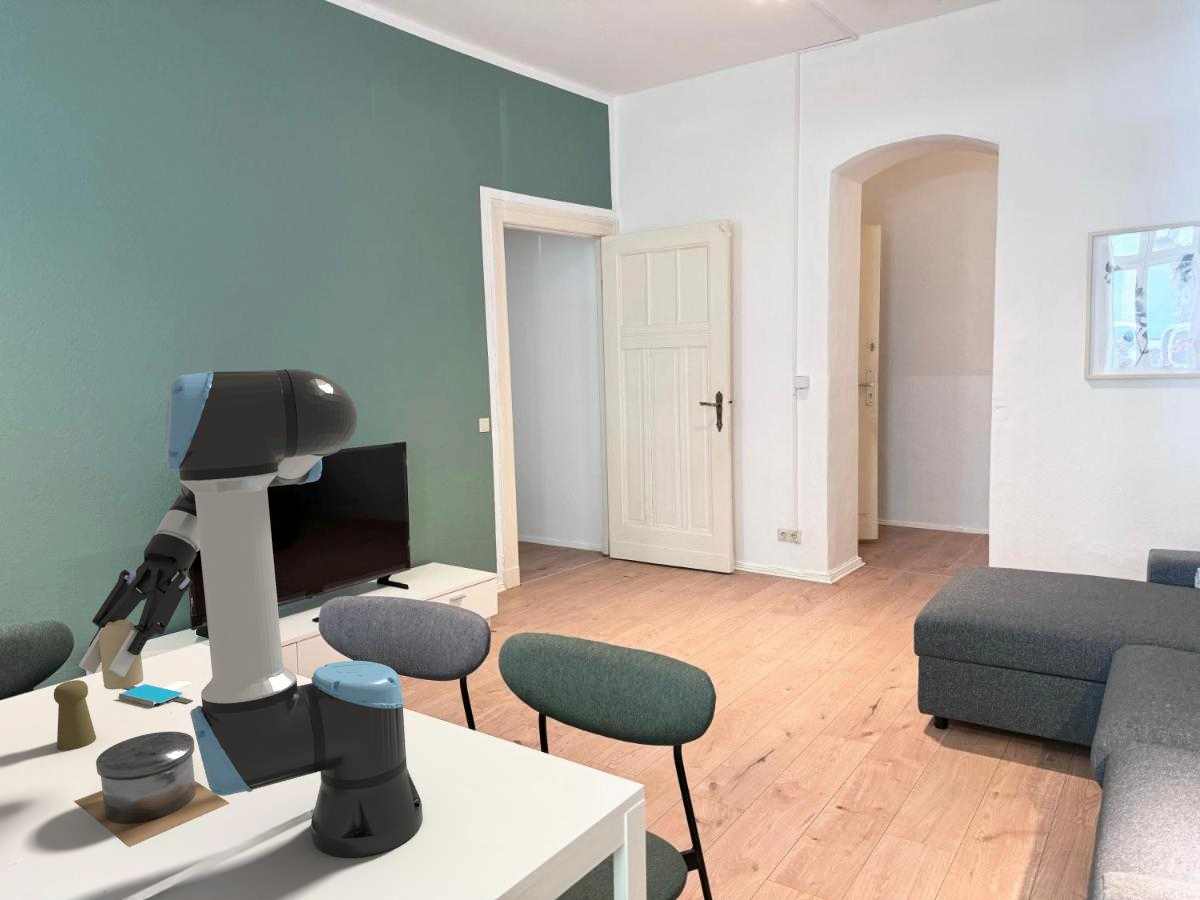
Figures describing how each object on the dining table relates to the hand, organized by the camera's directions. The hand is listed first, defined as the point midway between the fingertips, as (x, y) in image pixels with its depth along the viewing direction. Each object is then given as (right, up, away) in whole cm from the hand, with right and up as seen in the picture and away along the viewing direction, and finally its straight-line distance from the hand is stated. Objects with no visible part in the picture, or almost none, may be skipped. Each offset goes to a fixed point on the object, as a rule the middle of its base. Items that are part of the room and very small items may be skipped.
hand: (101, 671), depth 133 cm
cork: (-16, -18, +20) cm, 32 cm away
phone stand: (-12, -16, +42) cm, 47 cm away
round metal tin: (+10, -18, -4) cm, 21 cm away
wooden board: (+10, -20, -4) cm, 23 cm away
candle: (+1, -3, +4) cm, 5 cm away
